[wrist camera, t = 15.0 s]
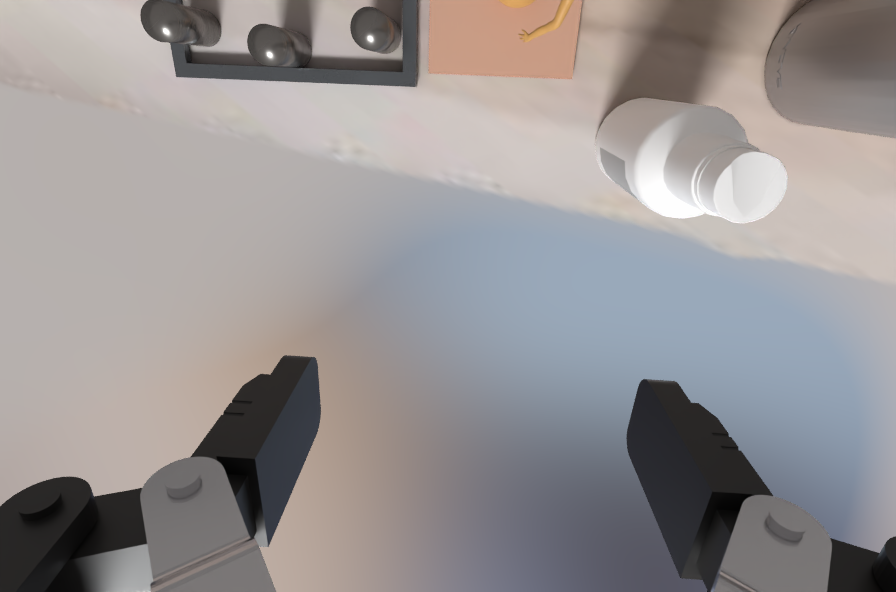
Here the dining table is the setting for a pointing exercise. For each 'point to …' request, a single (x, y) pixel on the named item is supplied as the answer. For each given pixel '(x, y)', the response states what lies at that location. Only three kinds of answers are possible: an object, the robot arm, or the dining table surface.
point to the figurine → (566, 1)
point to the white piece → (688, 161)
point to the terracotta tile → (501, 39)
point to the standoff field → (282, 46)
